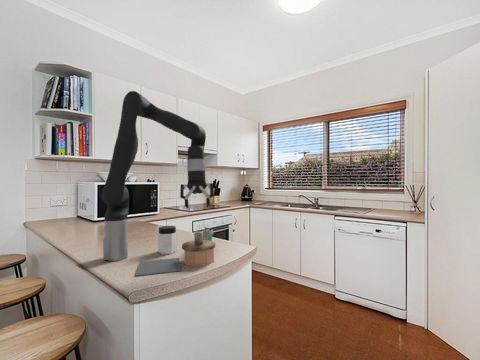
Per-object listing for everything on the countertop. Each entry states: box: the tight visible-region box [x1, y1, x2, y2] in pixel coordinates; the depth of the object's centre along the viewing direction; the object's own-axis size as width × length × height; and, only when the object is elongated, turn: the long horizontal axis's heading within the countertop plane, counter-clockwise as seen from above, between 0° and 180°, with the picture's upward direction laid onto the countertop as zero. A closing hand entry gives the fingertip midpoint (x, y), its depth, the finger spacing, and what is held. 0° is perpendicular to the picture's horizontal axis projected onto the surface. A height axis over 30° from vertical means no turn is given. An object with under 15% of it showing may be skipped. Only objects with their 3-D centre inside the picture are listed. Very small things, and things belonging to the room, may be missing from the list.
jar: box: [157, 225, 178, 255], centre depth 117 cm, size 9×8×12 cm
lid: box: [181, 231, 216, 252], centre depth 103 cm, size 14×14×6 cm
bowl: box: [183, 247, 215, 267], centre depth 103 cm, size 12×12×6 cm
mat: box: [134, 257, 182, 277], centre depth 96 cm, size 16×16×1 cm
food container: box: [200, 227, 214, 241], centre depth 120 cm, size 12×6×10 cm, turn 168°
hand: (197, 207), depth 104 cm, fingers open, 8 cm apart
